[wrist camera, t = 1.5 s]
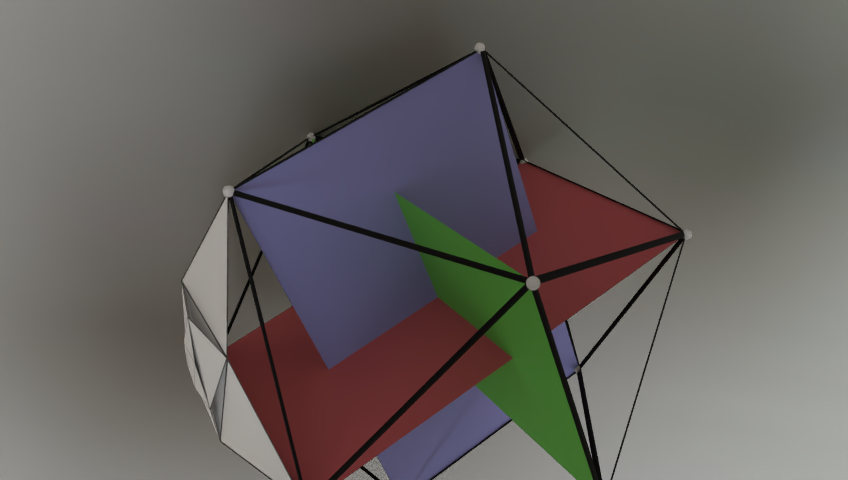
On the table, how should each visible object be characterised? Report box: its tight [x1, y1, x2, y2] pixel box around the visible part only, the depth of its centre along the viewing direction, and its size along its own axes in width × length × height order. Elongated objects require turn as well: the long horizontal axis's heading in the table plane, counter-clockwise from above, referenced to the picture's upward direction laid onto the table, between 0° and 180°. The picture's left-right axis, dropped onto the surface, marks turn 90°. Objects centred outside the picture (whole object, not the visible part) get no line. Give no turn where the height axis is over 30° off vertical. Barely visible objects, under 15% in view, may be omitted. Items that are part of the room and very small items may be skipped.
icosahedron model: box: [181, 43, 692, 480], centre depth 12 cm, size 7×7×8 cm
